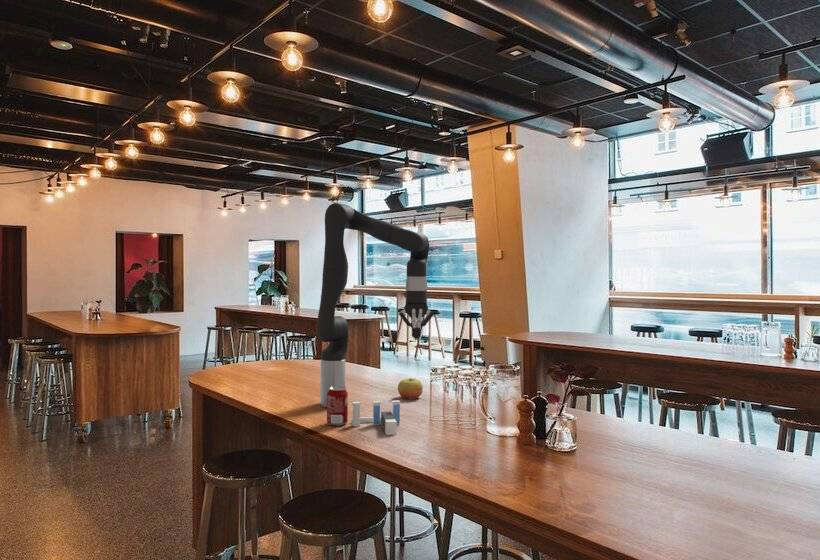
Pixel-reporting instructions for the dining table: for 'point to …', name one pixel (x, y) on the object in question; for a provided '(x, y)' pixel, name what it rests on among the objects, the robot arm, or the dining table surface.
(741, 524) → the dining table surface
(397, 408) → the upright peg stand
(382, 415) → the grey rectangular bar
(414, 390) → the apple
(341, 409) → the soda can
